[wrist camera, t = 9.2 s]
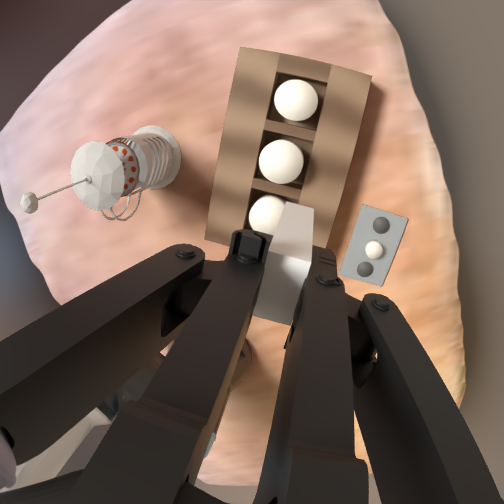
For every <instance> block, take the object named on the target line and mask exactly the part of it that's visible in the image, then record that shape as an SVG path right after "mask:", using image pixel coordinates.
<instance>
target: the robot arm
mask: <svg viewBox="0 0 504 504" xmlns="http://www.w3.org/2000/svg"><path fill="white" fill-rule="evenodd" d="M313 220H314V209H313V208H310V207H306V206H302V205H298V204H295V203H291V202H287V201H286V203H285V206H284V209H283V211H282V214H281V217H280V220H279V222H278V225H277V228H276V230H275V233H274V235H270V234H266V233H263V232H259V231H255V230H248V229H240V230H235V231H234V232H233V233H232V238H231V243H230V248H229V254H228V256H227V257H226V259H225V260H224V261H210V260H205V253H204V252H203V250H202V249H200V248H198V247H196V246H192V245H190V244H177V245H173V246H170V247H168V248H166V249H165V250H163V251H161V252H159V253H157V254H155V255H153V256H151V257H149V258H147V259H145V260H144V261H142V262H140V263H138V264H136V265H134V266H132V267H130V268H129V269H127V270H125V271H123V272H121V273H119V274H117V275H116V276H114V277H112V278H110V279H108V280H106V281H105V282H103V283H101V284H99V285H97V286H95V287H94V288H92V289H90V290H88V291H86V292H85V293H83V294H81V295H79V296H78V297H76V298H74V299H72V300H70V301H69V302H67V303H65V304H63V305H62V306H60V307H58V308H57V309H55V310H53V311H51V312H50V313H48V314H46V315H44V316H43V317H41V318H39V319H38V320H36V321H34V322H32V323H31V324H29V325H27V326H25V327H24V328H22V329H20V330H19V331H17V332H15V333H14V334H12V335H11V336H9V337H7V338H6V339H4V340H2V341H1V342H0V504H229V503H225V502H223V501H221V500H219V499H217V498H215V497H213V496H211V495H209V494H208V493H206V492H204V491H202V490H200V489H199V488H197V487H195V486H194V484H195V481H196V478H197V475H198V472H199V469H200V467H201V464H202V461H203V459H204V458H205V457H206V456H207V455H208V453H209V451H210V449H211V446H212V444H213V442H214V441H215V439H216V434H217V431H218V428H219V425H220V422H221V419H222V416H223V413H224V410H225V407H226V404H227V400H228V397H229V395H230V392H231V391H232V390H233V389H234V388H235V387H236V386H237V385H238V384H239V382H240V381H241V380H242V379H243V378H244V377H245V375H246V374H247V372H248V369H249V366H250V363H251V350H250V347H249V345H248V343H247V341H246V340H245V337H246V334H247V331H248V328H249V325H250V322H251V318H252V315H253V316H256V317H260V318H264V319H267V320H271V321H275V322H278V323H282V324H286V325H290V326H291V328H290V331H289V334H288V337H287V339H286V342H285V345H284V349H286V352H285V358H284V363H283V369H282V374H281V380H280V385H279V390H278V396H277V401H276V406H275V411H274V416H273V421H272V426H271V431H270V435H269V440H268V445H267V450H266V454H265V459H264V463H263V468H262V472H261V477H260V481H259V485H258V489H257V493H256V496H255V499H254V501H253V504H368V497H369V496H368V494H369V489H368V488H369V485H368V484H369V483H368V468H367V464H366V462H365V461H364V460H362V459H357V458H356V456H355V445H354V411H355V414H356V417H357V421H358V424H359V427H360V430H361V434H362V437H363V440H364V443H365V447H366V450H367V454H368V457H369V460H370V464H371V467H372V471H373V474H374V478H375V481H376V485H377V488H378V492H379V496H380V499H381V503H382V504H504V501H503V499H502V498H501V497H500V494H499V492H498V490H497V487H496V485H495V483H494V480H493V478H492V476H491V474H490V472H489V469H488V467H487V465H486V463H485V461H484V458H483V456H482V454H481V452H480V450H479V448H478V446H477V444H476V442H475V440H474V438H473V436H472V434H471V432H470V430H469V428H468V426H467V424H466V422H465V420H464V418H463V417H462V415H461V413H460V411H459V409H458V407H457V405H456V403H455V402H454V400H453V398H452V396H451V394H450V392H449V391H448V389H447V387H446V385H445V384H444V382H443V380H442V378H441V377H440V375H439V373H438V371H437V370H436V368H435V366H434V365H433V363H432V361H431V360H430V358H429V356H428V355H427V353H426V351H425V350H424V348H423V346H422V345H421V343H420V342H419V340H418V338H417V337H416V335H415V334H414V332H413V330H412V329H411V327H410V326H409V324H408V323H407V321H406V319H405V318H404V316H403V315H402V313H401V312H400V310H399V309H398V307H397V306H396V305H395V303H394V302H393V301H391V300H390V299H388V297H386V296H384V295H381V294H375V293H369V294H366V295H365V296H364V298H363V300H362V301H360V300H358V299H356V298H353V297H352V296H350V295H348V294H347V293H345V287H344V283H343V281H342V280H341V279H340V278H339V277H337V267H336V257H335V255H334V253H333V252H332V251H331V250H329V249H326V248H322V247H318V246H315V245H312V242H313ZM292 320H293V322H292ZM291 323H292V325H291ZM167 345H168V352H167V355H166V356H164V355H162V354H161V353H160V351H161V350H163V349H164V348H165V347H166V346H167ZM376 353H377V359H376V357H375V355H376ZM116 415H117V417H116V418H115V420H114V421H113V423H112V425H111V426H110V428H109V430H108V431H107V433H106V435H105V436H104V438H103V439H102V441H101V443H100V444H99V446H98V448H97V449H96V451H95V453H94V454H93V456H92V458H91V459H90V461H89V463H88V464H87V466H86V467H85V469H82V470H78V471H74V472H71V473H68V474H65V475H62V476H59V477H56V478H55V476H56V475H57V474H58V472H59V471H60V470H61V468H62V467H63V465H64V464H65V463H66V462H67V460H68V459H69V457H70V456H71V455H72V454H73V452H74V451H75V449H76V448H77V447H78V445H79V444H80V443H81V442H82V440H83V439H84V438H85V436H86V435H87V434H88V432H89V431H90V430H91V428H92V427H93V426H96V425H104V424H110V422H111V421H112V420H113V418H114V417H115V416H116Z"/></svg>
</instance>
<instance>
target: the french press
mask: <svg viewBox="0 0 504 504" xmlns="http://www.w3.org/2000/svg"><path fill="white" fill-rule="evenodd" d="M123 139H125V140H124V141H123V142H121V141H122V140H123ZM127 139H129V140H127ZM118 140H120V141H118ZM126 140H127V141H126ZM125 141H126V142H125ZM124 142H125V143H124ZM181 159H182V158H181V152H180V146H179V144H178V142H177V141H176V139H175V138H174V136H173V134H171V133H170V132H169V131H167V130H166V129H164V128H163V127H158V126H153V125H150V126H146V127H142V128H140V129H139V130H137V131H136V132H135V133H134V134H133V135H131V136H125V137H120V138H116V139H113V140H112V141H110V142H108V143H102V142H98V141H92V142H88V143H85V144H83V145H82V146H81V147H80V148H79V149H78V150H77V151H76V153H75V156H74V158H73V160H72V163H71V175H70V176H71V181H72V184H71V185H69V186H66V187H63V188H61V189H58V190H56V191H53V192H51V193H49V194H46V195H44V196H41V197H39V198H37V197H36V195H35V194H34V193H32V192H29V193H26V194H24V195H23V196H22V199H21V202H20V203H21V208H22V210H23V211H24V212H26V213H29V214H31V213H33V212H35V211H36V210H37V208H38V200H40V199H42V198H45V197H47V196H49V195H52V194H54V193H57V192H59V191H62V190H64V189H66V188H69V187H71V186H73V189H74V191H75V193H76V194H77V196H78V198H79V200H81V201H82V202H83V203H84V204H85V205H86V206H87V207H88V208H91V209H94V210H97V211H101V213H102V215H103V216H104V217H105V218H106V219H109V220H115V219H117V220H120V221H126V220H127V219H129V218H130V217H132V215H133V214H134V213H135V211H136V210H137V208H138V205H139V202H140V197H141V192H142V191H143V190H145V189H147V188H148V189H152V190H153V189H160V188H164V187H165V186H167V185H168V184H170V183H171V182H173V180H174V179H175V177H176V175H177V174H178V172H179V170H180V164H181ZM138 187H141V189H139V190H137V191H135V192H133V193H131V192H132V191H133V190H134V189H136V188H138ZM138 192H140V193H139V197H138V202H137V205H136V208H135V210H134V212H133V213H132V214H131V215H130V216H128V217H127V218H125V219H119V218H118V217H120V216H121V215H122V214H123V212H124V211H125V210H126V208H127V206H128V204H129V201H130V196H131V195H134V194H136V193H138ZM128 194H129V195H128ZM123 196H129V197H128V201H127V204H126V207H125V209H124V210H123V211H122V212H121V214H120V215H118V216H115V215H114V213H113V210H112V207H113V206H114V205H115V204H116V203H117V202H118V200H119V198H120V197H123ZM109 208H110V211H111V213H112V215H113V217H114V218H110V217H107V216H106V215H105V214H104V213H103V211H102V210H106V209H109Z"/></svg>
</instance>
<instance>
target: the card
mask: <svg viewBox="0 0 504 504" xmlns="http://www.w3.org/2000/svg"><path fill="white" fill-rule="evenodd" d="M407 220H408V218H405V217H402V216H399V215H396V214H393V213H389V212H386V211H383V210H380V209H377V208H374V207H370V206H367V205H364V204H362V205H361V208H360V211H359V215H358V218H357V221H356V224H355V227H354V230H353V233H352V236H351V239H350V242H349V245H348V248H347V251H346V254H345V256H344V259H343V262H342V265H341V268H340V271H339V273H338V275H340V276H344V277H348V278H351V279H355V280H359V281H363V282H366V283H370V284H374V285H377V286H382V284H383V282H384V279H385V277H386V275H387V272H388V270H389V267H390V265H391V262H392V260H393V257H394V255H395V252H396V250H397V247H398V245H399V242H400V239H401V237H402V234H403V231H404V229H405V226H406V223H407Z"/></svg>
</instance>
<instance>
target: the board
mask: <svg viewBox="0 0 504 504" xmlns="http://www.w3.org/2000/svg"><path fill="white" fill-rule="evenodd" d="M371 79H372V76H370V75H367V74H364V73H361V72H357V71H354V70H350V69H347V68H343V67H340V66H336V65H332V64H328V63H324V62H320V61H316V60H311V59H307V58H302V57H298V56H293V55H288V54H283V53H277V52H271V51H266V50H259V49H253V48H245V47H240V50H239V54H238V59H237V64H236V68H235V73H234V77H233V82H232V87H231V92H230V97H229V102H228V107H227V112H226V117H225V122H224V127H223V132H222V137H221V143H220V148H219V154H218V159H217V165H216V171H215V176H214V182H213V188H212V194H211V200H210V206H209V212H208V219H207V225H206V232H205V238H204V239H205V240H208V241H212V242H216V243H219V244H223V245H227V246H230V243H231V238H232V233H233V232H234V231H235V230H240V229H248V230H253V229H252V227H251V225H250V222H249V213H250V210H251V208H252V207H253V205H254V204H255V203H256V201H257V200H258V199H259V198H260V197H261V196H263V195H265V194H270V193H273V194H278V195H280V196H282V197H283V198H285V199H286V200H287V202H291V203H295V204H298V205H302V206H306V207H310V208H313V209H314V220H313V242H312V245H315V246H318V247H322V248H326V245H327V242H328V239H329V236H330V233H331V229H332V226H333V223H334V219H335V216H336V213H337V210H338V206H339V203H340V199H341V196H342V192H343V189H344V185H345V182H346V178H347V175H348V171H349V168H350V164H351V160H352V157H353V153H354V149H355V145H356V141H357V137H358V134H359V130H360V126H361V122H362V117H363V113H364V109H365V105H366V101H367V96H368V92H369V88H370V83H371ZM289 80H302V81H305V82H307V83H308V84H310V85H311V86H312V87H313V88H314V90H315V91H316V94H317V97H318V104H317V109H316V111H315V112H314V114H313V115H312V116H311V117H309V118H308V119H305V120H301V121H293V120H289V119H287V118H285V117H283V116H282V115H281V114H280V113H279V112H278V110H277V109H276V106H275V102H274V97H275V93H276V91H277V89H278V88H279V86H280V85H282V84H283V83H284V82H286V81H289ZM279 139H287V140H291V141H293V142H294V143H296V144H297V145H298V146H299V147H300V148H301V150H302V152H303V156H304V163H303V167H302V170H301V172H300V174H299V176H298V177H297V178H296V179H295V180H293V181H291V182H289V183H285V184H278V183H274V182H272V181H270V180H268V179H267V178H266V177H265V176H264V175H263V174H262V172H261V170H260V166H259V157H260V154H261V152H262V150H263V149H264V148H265V147H266V146H267V145H268V144H270V143H272V142H274V141H276V140H279Z"/></svg>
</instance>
